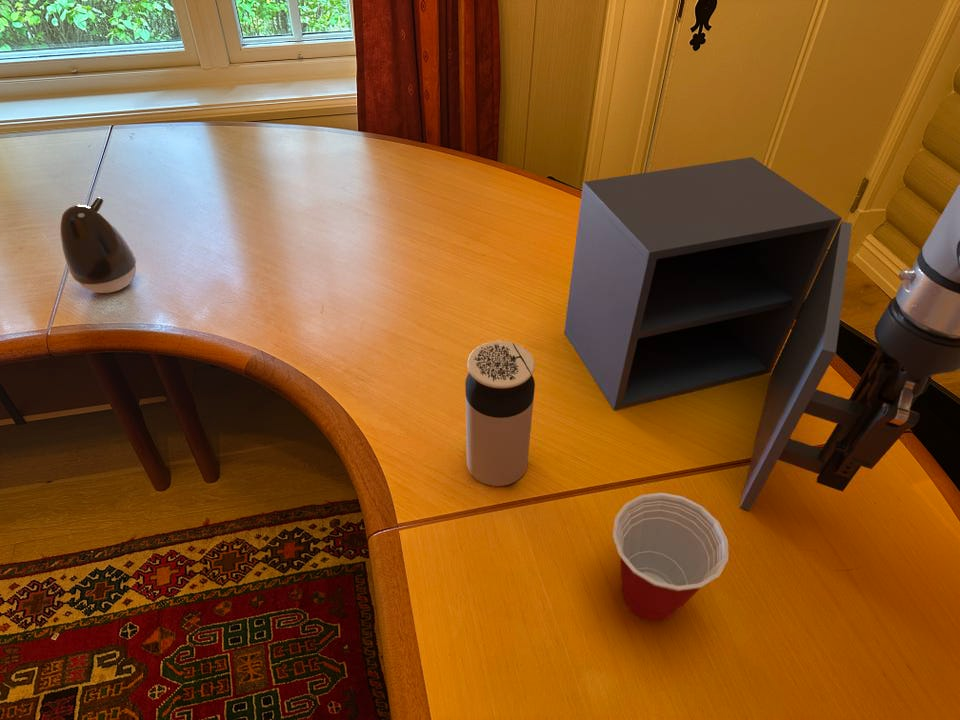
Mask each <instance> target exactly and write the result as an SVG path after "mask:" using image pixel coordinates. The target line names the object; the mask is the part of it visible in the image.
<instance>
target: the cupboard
mask: <svg viewBox="0 0 960 720" xmlns="http://www.w3.org/2000/svg"><path fill="white" fill-rule="evenodd" d="M578 212H579V213H578V221H577V227H576V228H577V229H576V237H575V245H574V253H573V260H572V266H571V268H572V269H571V275H570V276H571V277H570V283H569V291H568V299H567V307H566V315H565V322H564V323H565V324H564V332H563V333H564V335H565V336H566V338H567V339H568V341H569V342H570V344H571V346H572V347H573V349H574V350H575V352H576V354H577V355H578V357H579V359H581V361H582V363H583V364H584V366H585V368H586V369H587V371H588V373H589V374H590V375H591V377H592V378H593V380H594V382H595V383H596V385H597V386H598V388H599V390H600V391H601V393H602V394H603V396H604V397H605V399H606V401H607V402H608V404H609V405H610V407H611V408H612V410H613V411H617V410H622V409H625V408H626V409H627V408H630V407H634V406H638V405H642V404H647V403H650V402H655V401H660V400H664V399H666V398H668V399H669V398H671V397H675V396H680V395H684V394H688V393H693V392H697V391H700V390H705V389H708V388H714V387H716V386H721V385H726V384H731V383H734V382H737V381H742V380H746V379H747V380H748V379H750V378H754V377H759V376H763V375H767V374H771V373H772V371H773V369H774V367H775V365H776V363H777V360H778V358H779V356H780V354H781V352H782V350H783V347H784V345H785V343H786V341H787V339H788V336H789V334H790V332H791V330H792V328H793V326H794V323H795V321H796V319H797V317H798V315H799V313H800V310H801V308H802V306H803V304H804V302H805V300H806V297H807V295H808V293H809V291H810V289H811V287H812V284H813V282H814V280H815V278H816V276H817V273H818V271H819V269H820V267H821V265H822V263H823V260H824V258H825V256H826V254H827V252H828V250H829V247H830V245H831V243H832V241H833V239H834V237H835V234H836V232H837V230H838V228H839V226H840V224H841V222H842V219H843V218H842V216H840V215H839V214H838V213H835V211H833V210H832V209H830V208H828V207H827V206H825V204H823V203H821V202H820V201H818V200H816V199H815V198H814V197H812V196H811V195H809V194H807V193H806V192H805V191H803V190H802V189H800V188H799V187H797V186H796V185H795V184H793V183H791V182H790V181H789V180H787V179H786V178H784V177H783V176H782V175H779V174H778V173H777V172H775V171H774V170H772V169H771V168H769V167H768V166H766V165H765V164H763V163H762V162H760V161H759V160H758V159H756V158H754V157H753V156H749V157H744V158H743V157H742V158H736V159H729V160H722V161H717V162H709V163H702V164H696V165H688V166H681V167H676V168H675V167H674V168H669V169H661V170H654V171H648V172H641V173H634V174H627V175H620V176H615V177H607V178H600V179H599V178H598V179H594V180H593V179H592V180H587V181H583V183H582V190H581V198H580V205H579V211H578Z"/></svg>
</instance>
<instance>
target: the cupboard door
mask: <svg viewBox="0 0 960 720" xmlns="http://www.w3.org/2000/svg"><path fill="white" fill-rule="evenodd" d="M852 228H853V223H852V222H847V221H843V220H841V221H840V223H839V225H838V228H837V230H836V232H835V234H834V236H833V239H832V241H831V243H830V245H829V247H828V249H827V252H826V254H825V256H824V258H823V260H822V263H821V265H820V267H819V269H818V271H817V273H816V276H815V278H814V280H813V282H812V284H811V287H810V289H809V291H808V293H807V295H806V297H805V300H804V302H803V304H802V306H801V308H800V310H799V313H798V315H797V317H796V319H795V321H794V324H793V326H792V328H791V330H790V332H789V334H788V337H787V339H786V341H785V343H784V345H783V348H782V350H781V352H780V354H779V356H778V358H777V361H776V363H775V365H774V367H773V369H772V371H771V373H770V376H769V380H768V381H769V382H768V386H767V390H766V394H765V398H764V403H763V406H762V410H761V415H760V419H759V424H758V427H757V432H756V436H755V441H754V444H753V450H752V454H751V458H750V462H749V467H748V470H747V474H746V479H745V484H744V488H743V492H742V495H741V496H742V497H741V501H740V504H739V508H740V509H743V510H745V511H747V512H751V510H752V508H753V506H754V504H755V502H756V501H757V499H758V497H759V496H760V493H761V491H762V490H763V488H764V486H765V484H766V483H767V480H768V478H769V477H770V475H771V473H772V472H773V470H774V468H775V467H776V464H777V462H778V461H780V462H783V463H785V464H789V465H791V466H794V467H797V468H800V469H803V470H805V471H808V472H811V473H814V474H817V475H819V474H820V472H821V471H822V469H823V468H824V466H825V465H826V463H827V462H828V460H829V459H830V457H831V456H832V454H833V452H834V451H835V449H834V446H835V443H836V441H837V440H838V441H842V442H845V441H846V440H847V438H848V436H849V435H850V433H851V431H852V430H853V428H854V426H855V425H856V423H857V421H858V420H859V418H860V416H861V415H862V413H863V411H864V409H865V408H866V406H865V405H864V404H862V403H859V402H855V401H852V400H849V399H850V398H845V397H842V396H838V395H835V394H833V393H829V392H827V391H822V390H819V389H818V387H819V385H820V383H821V381H822V379H823V377H824V376H825V374H826V372H827V370H828V368H829V367H830V365H831V364H832V363H831V362H832V361H833V359H834V357H835V356H836V354H837V348H838V339H839V332H840V323H841V315H842V307H843V299H844V292H845V283H846V275H847V267H848V259H849V252H850V244H851V236H852ZM804 414H806V415H809V416H812V417H815V418H818V419H822V420H824V421H828V422H831V423H834V424H836V425H835V427H834V429H833V430H832V432H831V434H830V435H829V437H828V439H827V440H826V442H825V443H824V445H823V446H822V448H819V447H817V446H814V445H811V444H809V443H808V444H807V443H805V442H802V441H799V440H795V439H793V438H791V437H792V434H793V433H794V431H795V429H796V427H797V425H798V424H799V422H800V420H801V418H802V416H803V415H804Z"/></svg>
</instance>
